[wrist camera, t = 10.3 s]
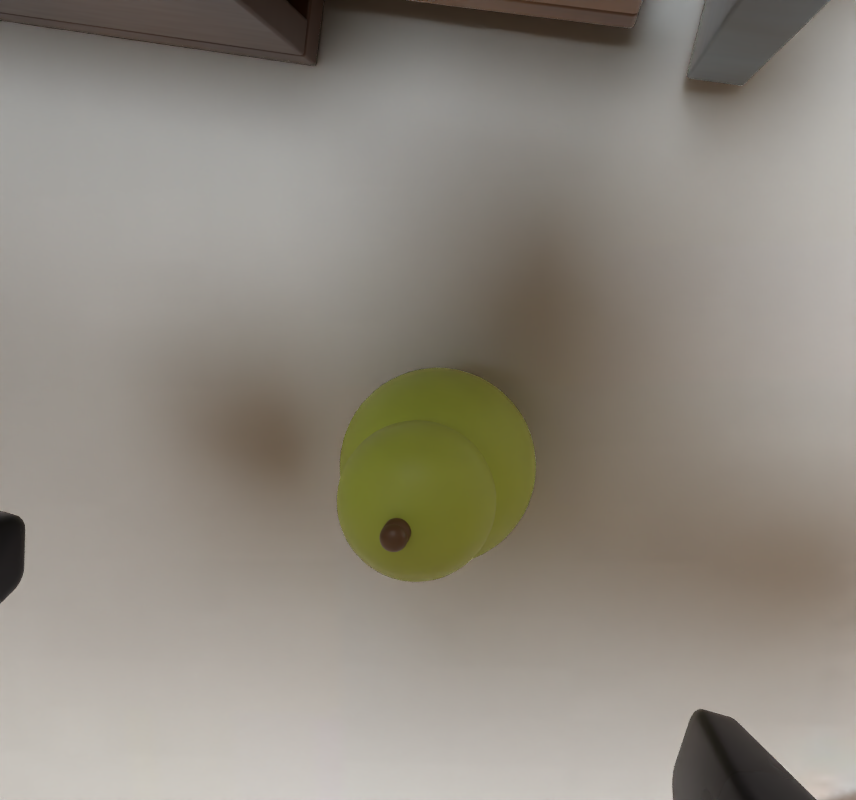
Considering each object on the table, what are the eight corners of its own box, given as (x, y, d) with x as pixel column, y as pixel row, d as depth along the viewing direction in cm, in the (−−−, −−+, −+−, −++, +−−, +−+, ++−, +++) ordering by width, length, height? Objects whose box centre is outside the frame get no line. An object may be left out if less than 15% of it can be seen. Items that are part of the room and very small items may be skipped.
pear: (518, 536, 17) (495, 696, 11) (360, 496, 18) (250, 624, 12) (556, 375, 16) (554, 447, 10) (385, 339, 17) (281, 385, 10)
